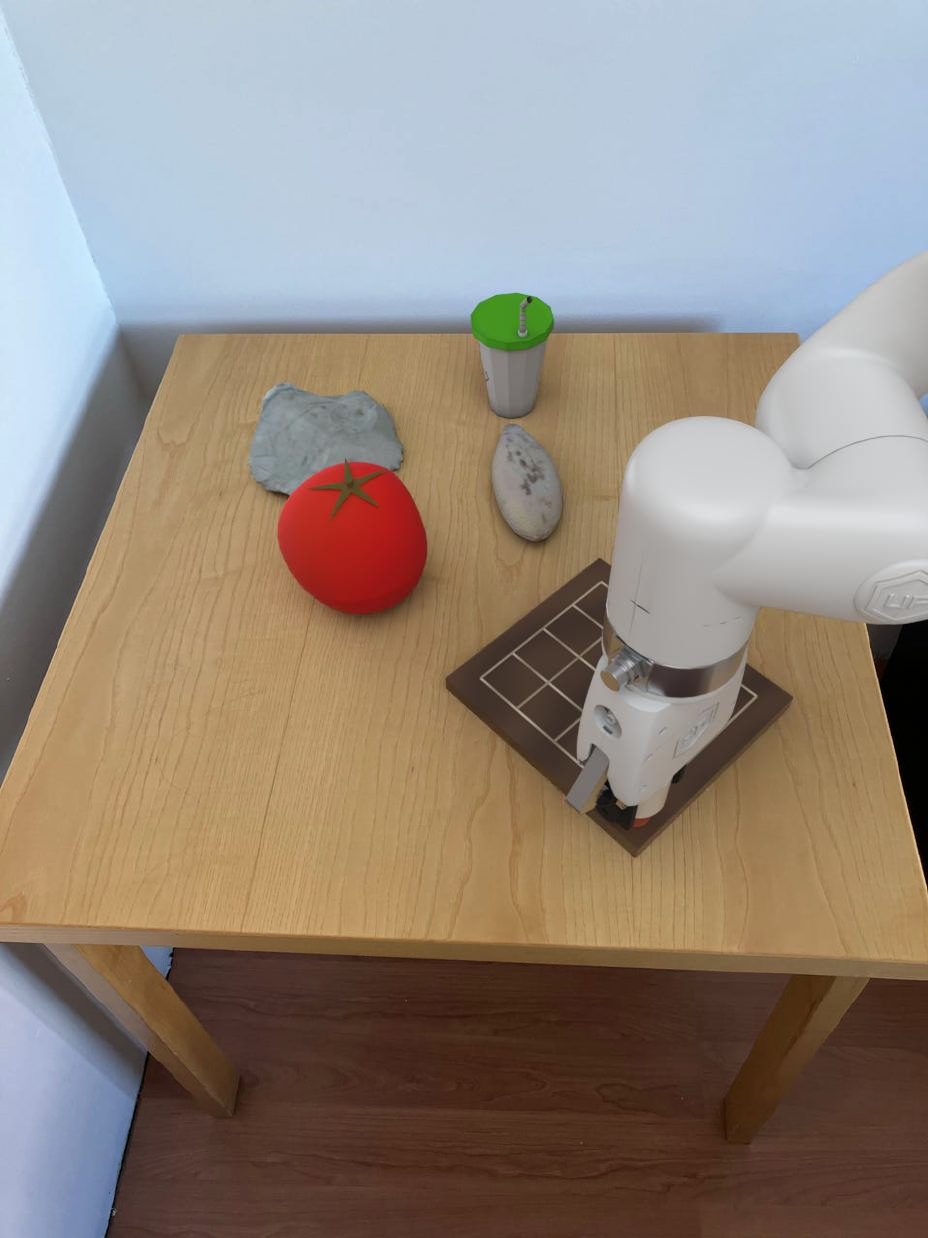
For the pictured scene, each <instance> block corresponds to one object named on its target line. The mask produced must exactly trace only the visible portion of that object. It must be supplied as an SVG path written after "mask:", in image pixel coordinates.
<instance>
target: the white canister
mask: <svg viewBox="0 0 928 1238" xmlns="http://www.w3.org/2000/svg"><path fill="white" fill-rule="evenodd" d="M673 776H674V775H673ZM673 776H672V777H671V778H670V779H669V780H668V781H667V782H666V783H665V784H664V785H663V786H662V787H661V788H659V789H658V790H657V791H656V792H655V793H654V794H653V795H652V796H650V797H649V798H648V799H647V800H645V801H644V802H643V803H641V804H638V808H637V813H636V817H635V818H647V817H650V816H653V815H655V814H656V813H658V812H659V811H660V810H661V809H662V808H663V806H664V805H665V803H666V800H667V796H668V793H669V789H670V786H671V782H672V779H673Z"/></svg>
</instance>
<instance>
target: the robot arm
mask: <svg viewBox="0 0 928 1238" xmlns="http://www.w3.org/2000/svg"><path fill="white" fill-rule="evenodd" d="M927 394H928V249H927V248H926V249H925V250H923V251H922V252H919V253H918V254H916V255H913V256H912V257H909V258H908V259H906V260H905V261H902V262H901V263H900V264H898V265H896V266H895V267H893V268H892V269H890V270H888V271H887V272H885V273H884V274H883V275H881V276H880V277H879V278H877V279H876V280H875V281H873V282H872V283H871V284H869V286H867V287H866V288H865V289H864V290H863V291H861V292H860V293H859V294H858V295H856V296H855V297H854V298H853V299H852V300H851V301H849V303H847V304H846V305H845V306H844V307H842V308H841V309H840V310H839V311H838V312H836V314H834V315H833V316H832V317H830V319H828V320H827V321H826V322H825V323H824V324H823V325H821V327H819V328H818V329H817V330H816V331H815V332H814V333H812V335H810V336H809V337H808V338H807V339H806V340H804V342H803V343H802V344H800V346H798V347H797V348H796V349H795V350H794V351H793V352H792V353H791V355H790V356H789V357H788V358H787V359H786V360H785V361H784V363H782V365H781V366H780V367H779V368H778V369H777V370H776V372H775V373H774V374H773V376H772V377H771V379H770V381H769V382H768V383H767V385H766V387H765V389H764V390H763V392H762V394H761V396H760V398H759V401H758V403H757V407H756V411H755V415H754V426H752V425H750V424H748V423H744V422H742V421H739V420H736V419H731V418H728V417H721V416H715V415H714V416H713V415H703V416H702V415H697V416H696V415H695V416H689V417H688V416H687V417H683V418H679V419H675V420H672V421H669V422H667V423H666V422H665V423H664V424H663V425H660V426H659V427H657V428H655V429H654V430H652V431H651V432H650V433H648V434H647V435H646V436H644V438H643V439H642V440H641V441H640V442H639V443H638V444H637V445H636V447H635V448H634V449H633V451H632V453H631V454H630V457H629V458H628V461H627V463H626V466H625V469H624V474H623V478H622V484H621V490H620V491H621V492H620V498H619V499H620V500H619V507H618V513H617V514H618V515H617V521H616V529H615V536H614V537H615V538H614V545H613V553H612V559H611V573H610V580H609V587H608V596H607V602H606V610H605V617H604V625H603V631H602V643H601V644H602V651H603V655H602V657H601V658H600V660H599V662H598V665H597V667H596V670H595V673H594V675H593V678H592V681H591V684H590V687H589V690H588V693H587V697H586V700H585V704H584V708H583V712H582V716H581V720H580V725H579V731H578V738H577V758H578V762H579V764H580V765H583V764H585V766H584V768H583V770H582V771H581V773H580V775H579V776H578V778H577V780H576V781H575V783H574V785H573V786H572V788H571V790H570V792H569V793H568V795H567V796H566V797H565V798H564V803H565V804H567V806H569V807H570V808H571V809H572V810H573V811H574V812H576V814H577V815H579V816H582V815H585V814H586V812H588V811H590V810H592V809H594V807H596V810H597V811H598V813H599V814H600V815H601V816H602V817H603V818H605V819H606V820H607V821H608V822H610V823H613V822H614V821H615V822H617V823H618V824H619V825H620V826H621V827H622V828H623V829H625V830H627V831H628V830H629V829H630V828H631V827H632V826H633V825H634V821H635V817H636V813H637V808H638V804H641V803H643V802H644V801H645V800H647V799H648V798H649V797H650V796H652V795H653V794H654V793H655V792H656V791H657V790H658V789H659V788H661V787H662V786H663V785H664V784H665V783H666V782H667V781H668V780H669V779H670V778H671V777H672V776H673V775H674V776H673V779H672V782H671V783H672V784H674V783H678V782H679V781H680V780H681V779H682V778H683V775H684V772H685V768H686V765H687V762H688V761H689V760H690V759H691V758H692V757H693V756H694V755H696V754H697V753H698V752H699V751H700V750H701V749H702V748H703V747H704V746H705V745H706V744H707V743H708V742H709V741H710V740H711V739H712V738H713V737H714V736H715V735H716V734H717V733H718V732H719V731H720V730H721V729H722V728H723V726H724V725H725V724H726V723H727V721H728V720H729V719H730V717H731V715H732V713H733V710H734V707H735V703H736V700H737V697H738V693H739V690H740V686H741V682H742V678H743V674H744V669H745V665H746V663H747V659H748V652H749V641H750V638H751V635H752V632H753V629H754V627H755V623H756V620H757V618H758V615H759V612H760V609H761V607H762V608H768V609H776V610H781V611H787V612H793V613H798V614H803V615H809V616H814V617H815V616H816V617H820V618H826V619H830V620H831V619H833V620H838V621H844V622H850V623H856V624H857V623H858V624H859V623H860V624H868V625H905V624H911V623H916V622H921V621H926V620H928V417H927V415H926V413H925V411H924V409H923V407H922V405H921V403H920V401H919V400H921V399H922V398H923V397H924V396H926V395H927Z"/></svg>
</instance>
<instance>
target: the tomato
mask: <svg viewBox="0 0 928 1238" xmlns="http://www.w3.org/2000/svg"><path fill="white" fill-rule="evenodd" d="M276 537H277V541H278V547H279V550H280V553H281V555H282V557H283V561H284V562H285V565H286V566H287V568H288V570H289V572H290V574H291V575H292V576H293V578H294V579H295V581H296V582H297V583H298V584H299V585H300V586H301V588H302V589H303V590H304V591H305V592H307V593H308V594H309V595H311V596H312V597H313V598H315V600H317V601H318V602H320V603H321V604H322V605H325V606H326V607H328V608H330V609H333V610H336V611H339V612H341V613H346V614H350V615H369V614H374V613H378V612H382V611H385V610H388V609H391V608H392V607H394V606H397V604H399V603H401V602H402V601H403V600H404V599H405V598H406V597H407V596H409V595H410V594H412V592H413V591H414V590H415V588H416V587H417V585H418V584H419V583H420V580H421V578H422V576H423V573H424V570H425V566H426V562H427V559H428V540H427V539H428V538H427V532H426V529H425V525H424V522H423V520H422V516H421V514H420V511H419V508H418V506H417V504H416V502H415V500H414V498H413V495H412V493H411V492H410V490H409V489H408V488H407V486H406V484H404V482H403V481H402V480H401V479H400V477H399V476H398V475H396V473H394V472H393V471H392V472H391V471H390V470H388V468H385V467H382V466H379V465H376V464H372V463H366V462H347V460H346V458H345V463H341V464H337V465H334V466H331V467H328V468H325V469H323V470H321V471H319V472H317V473H316V474H314V475H313V476H311V477H310V478H308V479H307V480H306V481H304V482H303V483H302V484H301V485H300V486H299V487H298V488H297V489H296V490H295V491H294V492H293V493H292V494H291V495H290V496H288V498H287V500H286V501H285V503H284V505H283V507H282V509H281V511H280V513H279V518H278V521H277V533H276Z"/></svg>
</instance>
